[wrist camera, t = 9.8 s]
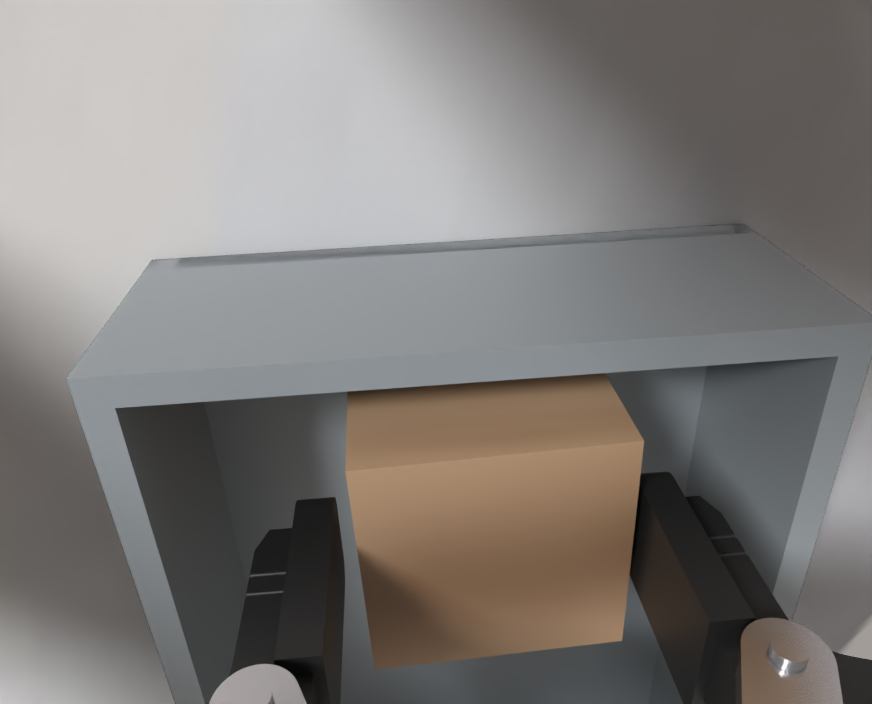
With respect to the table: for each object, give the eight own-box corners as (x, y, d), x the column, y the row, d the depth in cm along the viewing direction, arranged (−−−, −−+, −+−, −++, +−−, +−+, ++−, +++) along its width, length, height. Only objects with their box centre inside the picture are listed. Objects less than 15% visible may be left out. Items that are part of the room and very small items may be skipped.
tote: (269, 741, 24) (246, 916, 19) (151, 260, 15) (66, 378, 11) (656, 703, 25) (718, 865, 20) (744, 223, 16) (881, 322, 12)
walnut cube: (348, 331, 16) (344, 471, 12) (568, 310, 16) (644, 440, 12) (371, 501, 18) (374, 670, 14) (561, 481, 19) (622, 640, 14)
